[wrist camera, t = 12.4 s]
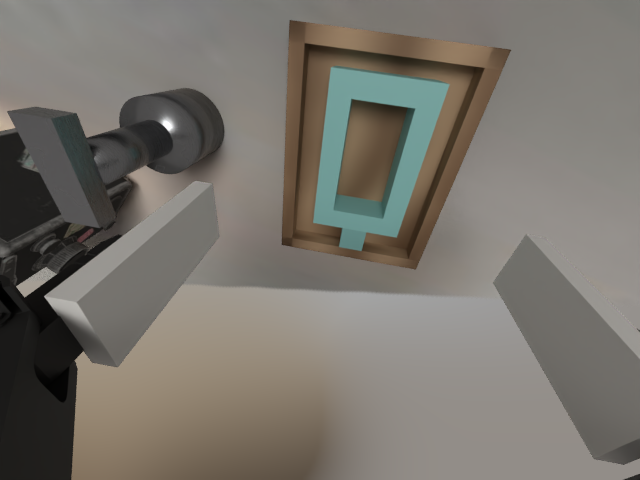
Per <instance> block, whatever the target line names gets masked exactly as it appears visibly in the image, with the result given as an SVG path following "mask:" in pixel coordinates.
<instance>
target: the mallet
mask: <svg viewBox="0 0 640 480" xmlns="http://www.w3.org/2000/svg"><path fill="white" fill-rule="evenodd" d="M7 112H8V114H9V116H10V118H11V120H12V122H13V124H14V126H15V128H16V129H17V131H18V133H19V135H20V137H21V139H22V141H23V143H24V145H25V146H26V148H27V150H28V152H29V154H30V156H31V158H32V160H33V162H34V163H35V165H36V167H37V169H38V171H39V173H40V175H41V177H42V179H43V180H44V182H45V184H46V186H47V188H48V190H49V192H50V194H51V196H52V197H53V199H54V201H55V203H56V205H57V207H58V209H59V211H60V213H61V214H62V216H63V218H64V220H65V222H70V223H75V224H81V225H86V226H91V227H97V228H101V227H102V226H104V225H105V224H107V223H108V222H110V221H112V220H113V219H115V218H116V217H117V216H116V213H115V211H114V208H113V206H112V203H111V201H110V198H109V195H108V193H107V190H106V188H105V185H107V184H109V183H111V182H113V181H115V180H117V179H119V178H121V177H123V176H125V175H127V174H129V173H131V172H133V171H135V170H137V169H140V168H142V167H144V166H148V167H149V168H151V169H153V170H155V171H157V172H160V173H164V174H176V173H179V172H181V171H183V170H185V169H186V168H188V167H189V166H191V165H193V164H194V163H196V162H197V161H199V160H201V159H202V158H204V157H205V156H207V155H209V154H210V153H212V152H213V151H215V150H216V149H217V148H218V147H219V146H220V145H221V143H222V140H223V137H224V125H223V121H222V118H221V115H220V113H219V111H218V109H217V108H216V106H215V105H214V104H213V102H212V101H211V100H210V99H209V98H207V97H206V96H205V95H204V94H202V93H200V92H198V91H196V90H194V89H189V88H181V89H176V90H170V91H165V92H159V93H154V94H149V95H143V96H138V97H134V98H131V99H129V100H128V101H127V102H126V103H125V104H124V105H123V107H122V109H121V112H120V117H119V123H120V128H118V129H115V130H112V131H108V132H105V133H102V134H98V135H95V136H91V137H88V138H86V137H85V134H84V131H83V129H82V126H81V124H80V121H79V119H78V116H77V113H71V112H65V111H59V110H53V109H46V108H40V107H31V108H25V109H19V110H12V111H7Z"/></svg>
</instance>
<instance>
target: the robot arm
mask: <svg viewBox="0 0 640 480" xmlns="http://www.w3.org/2000/svg"><path fill="white" fill-rule="evenodd" d="M218 238H219V228H218V221H217V213H216V206H215V198H214V191H213V184H212V183H206V182H200V181H194V182H193V183H191V184H190V185H189V186H188V187H186V188H185V189H184V190H182V191H181V192H180V193H178V194H177V195H176V196H174V197H173V198H172V199H171V200H169V201H168V202H167V203H165V204H164V205H163V206H161V207H160V208H159V209H158V210H156V211H155V212H154V213H152V214H151V215H150V216H148V217H147V218H146V219H144V220H143V221H142V222H141V223H139V224H138V225H137V226H135V227H134V228H133V229H131V230H130V231H129V232H127V233H126V234H125V235H124V236H122V235H117V236H115V237H112V238H110V239H108V240H106V241H103V242H101V243H99V244H98V245H97V246H95V247H94V248H93V249H91V250H90V251H88V252H87V254H86V255H83V256H81V257H80V258H79V259H77V260H76V261H75V263H74V264H70V265H69V266H68V267H66V268H65V269H64V270H62V271H61V272H59V273H58V274H57V275H55V276H54V277H53V278H51V279H50V280H48V281H47V282H46V283H44V284H43V285H41V286H40V287H39V288H37V289H36V290H35V291H34V292H32V293H31V294H29V295H28V296H27V297H25V298H24V296H23V295H22V294H21V293H20V291H19V290H18V289H17V288H16V286H15V285H14V284H13V282H12V281H11V280H10V279H9V278H7V277H6V276H4V275H0V480H71V474H72V456H73V437H74V421H75V402H76V385H77V366H76V362H75V361H74V360H75V359H76V358H77V357H78V356H79V355H80V354H81V353H82V352H83V351H84V352H85V354H86V355H87V356H88V358H89V359H90V360H91V362H93V363H98V364H103V365H108V366H114V367H118V366H119V365H120V364H121V363H122V361H123V360H124V359H125V357H126V356H127V355H128V354H129V352H130V351H131V350H132V348H133V347H134V346H135V344H136V343H137V342H138V341H139V339H140V338H141V337H142V335H143V334H144V333H145V332H146V330H147V329H148V328H149V326H150V325H151V324H152V323H153V321H154V320H155V319H156V317H157V316H158V315H159V313H160V312H161V311H162V310H163V308H164V307H165V306H166V305H167V303H168V302H169V301H170V299H171V298H172V297H173V296H174V294H175V293H176V292H177V290H178V289H179V288H180V287H181V285H182V284H183V283H184V281H185V280H186V279H187V278H188V276H189V275H190V274H191V272H192V271H193V270H194V269H195V267H196V266H197V265H198V263H199V262H200V261H201V260H202V258H203V257H204V256H205V254H206V253H207V252H208V251H209V249H210V248H211V247H212V245H213V244H214V243H215V242H216V240H217V239H218ZM493 284H494V285H495V287H496V289H497V291H498V292H499V294H500V296H501V298H502V299H503V301H504V303H505V305H506V306H507V308H508V309H509V311H510V313H511V315H512V317H513V318H514V320H515V322H516V324H517V326H518V327H519V329H520V331H521V332H522V334H523V336H524V338H525V340H526V341H527V343H528V345H529V346H530V348H531V350H532V352H533V353H534V355H535V357H536V359H537V360H538V362H539V364H540V366H541V367H542V369H543V371H544V373H545V374H546V376H547V378H548V380H549V381H550V383H551V385H552V387H553V388H554V390H555V392H556V394H557V395H558V397H559V399H560V401H561V402H562V404H563V406H564V408H565V409H566V411H567V413H568V415H569V416H570V418H571V420H572V422H573V423H574V425H575V427H576V429H577V430H578V432H579V434H580V436H581V437H582V439H583V441H584V442H585V444H586V446H587V448H588V450H589V451H590V453H591V455H592V457H593V458H594V459H597V460H602V461H607V462H612V463H618V464H623V465H624V464H627V463H629V462H632V461H634V460H637V459H639V458H640V330H638V329H637V328H635V327H634V326H633V325H632V324H631V323H630V322H629V321H628V320H627V319H626V318H625V316H623V314H621V312H619V310H617V308H616V307H615V306H614V305H613V304H612V303H611V302H610V301H609V300H608V299H607V298H606V297H605V296H604V295H603V294H602V293H601V292H600V291H599V290H598V289H597V288H596V287H595V286H594V285H593V284H592V283H591V282H590V281H589V280H588V279H587V278H586V277H585V276H584V275H583V274H582V273H581V272H580V271H579V270H578V269H577V268H576V267H575V266H574V265H573V264H572V263H571V262H570V261H569V260H568V259H567V258H566V257H565V256H564V255H563V254H562V253H561V252H560V251H559V250H558V249H557V248H556V247H555V246H554V245H553V244H552V243H551V242H550V241H549V240H548V239H547V238H546V237H540V236H534V235H528V234H526V235H525V237H524V238H523V240H522V241H521V243H520V244H519V246H518V247H517V249H516V250H515V251H514V253H513V254H512V256H511V257H510V259H509V260H508V262H507V263H506V264H505V266H504V267H503V269H502V270H501V272H500V273H499V275H498V276H497V278H496V279H495V280H494V282H493ZM625 480H640V474H638V475H635V476H633V477H630V478H627V479H625Z"/></svg>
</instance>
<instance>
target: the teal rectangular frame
mask: <svg viewBox="0 0 640 480" xmlns="http://www.w3.org/2000/svg"><path fill="white" fill-rule="evenodd" d="M449 85H450V84H448V83H445V82H442V81H440V80H435V79H428V78H420V77H413V76H406V75H399V74H392V73H385V72H378V71H371V70H364V69H357V68H350V67H343V66H333V67H331V71H330V80H329V89H328V97H327V106H326V115H325V123H324V132H323V141H322V150H321V158H320V167H319V176H318V184H317V193H316V202H315V211H314V219H313V223H317V224H323V225H328V226H334V227H340V228H342V231H341V237H340V243H339V247H342V248H347V249H353V250H358V251H362V248H363V244H364V240H365V236H366V232H368V233H373V234H379V235H385V236H390V237H396V238H397V235H398V232H399V229H400V227H401V224H402V221H403V218H404V215H405V212H406V209H407V206H408V203H409V201H410V198H411V195H412V192H413V189H414V186H415V183H416V180H417V177H418V174H419V172H420V169H421V166H422V163H423V160H424V157H425V154H426V151H427V148H428V146H429V143H430V140H431V137H432V134H433V131H434V128H435V125H436V122H437V119H438V117H439V114H440V111H441V108H442V105H443V102H444V99H445V96H446V93H447V91H448V88H449ZM353 99H355V100H361V101H368V102H375V103H381V104H388V105H395V106H401V107H408V109H407V112H406V116H405V120H404V123H403V127H402V130H401V134H400V138H399V141H398V145H397V148H396V152H395V156H394V159H393V163H392V166H391V170H390V174H389V177H388V181H387V184H386V188H385V192H384V195H383V199H382V202H379V201H374V200H368V199H362V198H356V197H350V196H344V195H338V194H337V191H338V185H339V179H340V173H341V167H342V161H343V155H344V149H345V143H346V137H347V130H348V124H349V118H350V112H351V106H352V100H353Z"/></svg>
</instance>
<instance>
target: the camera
mask: <svg viewBox="0 0 640 480" xmlns="http://www.w3.org/2000/svg"><path fill="white" fill-rule="evenodd" d="M105 188H106V190H107V193H108V195H109V198H110V201H111V203H112V206H113V208H114V211H115V213H116V214H117V212H118V210H119V209H120V207H121V205H122V204H123V202H124V200H125V198H126V197H127V195H128V193H129V192H130V190H131V188H132V183H131V182H130V181H129V180H128V178H126V177H125V178H123V177H121V178H119V179H117V180H115V181H113V182H111V183H109V184H107V185H105ZM114 223H115V221H114V220H112V221H110V222H108V223H107V224H105V225H104V226H102V227H101V228H97V227H91V226H86V225H81V224H75V223H70V222H65V220H64V218H63V216H62V214H61V213H60V211H59V209H58V207H57V205H56V203H55V201H54V199H53V197H52V196H51V194H50V192H49V190H48V188H47V186H46V184H45V182H44V180H43V179H42V177H41V175H40V173H39V171H38V169H37V167H36V165H35V163H34V162H33V160H32V158H31V156H30V154H29V152H28V150H27V148H26V146H25V145H24V143H23V141H22V139H21V137H20V135H19V133H18V131H17V129H16V128H14V129H10V130H5V131H0V275H4V276H6V277H7V278H9V279H10V280H11V281H12V282H13V284H14V285H15V286H17V285H19V284H20V283H22V282H23V281H25V280H26V279H28V278H29V277H31V276H32V275H34V274H35V273H37V272H38V271H40V270H41V269H43V268H45V267H47V268H48V269H50V270H52V271H53V272H55V273H57V274H58V273H59V272H61V271H62V270H64V269H65V268H66V267H68V266H69V265H70V264H74V263H75V261H76V260H77V259H79V258H80V257H81V256H83V255H85V254H86V253H87V252H88V250H89V248H88V247H86V246H85V245H83V244H82V242H84V241H86V240H87V239H89V238H90V237H92V236H93V235H95V234H96V233H98V232H99V231H101V230H102V229H104V230H108V229H109V228H110V227H112V226H113V225H114Z"/></svg>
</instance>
